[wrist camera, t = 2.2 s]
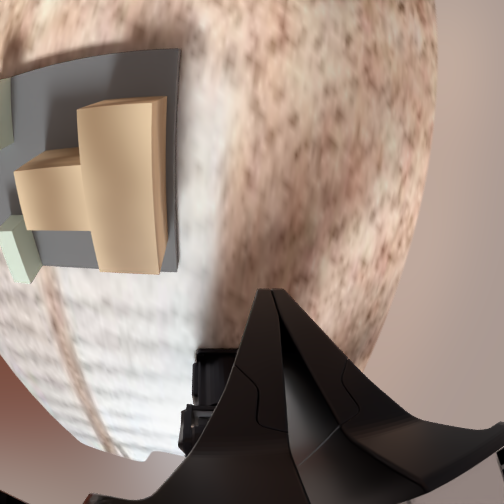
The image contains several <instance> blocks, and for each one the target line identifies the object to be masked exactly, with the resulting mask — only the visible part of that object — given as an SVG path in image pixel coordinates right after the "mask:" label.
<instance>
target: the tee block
mask: <svg viewBox="0 0 504 504" xmlns="http://www.w3.org/2000/svg"><path fill="white" fill-rule="evenodd" d="M166 113H167V96H152V97H133V98H120V99H109V100H103V101H100V102H97V103H94V104H91V105H88V106H85V107H82V108H79V109H77V127H78V142H79V147H74V148H64V149H55V150H47V151H44V152H42V153H41V154H39V155H38V156H36V157H34V158H33V159H31V160H30V161H28V162H27V163H25V164H24V165H22V166H21V167H20V168H18V169H17V170H15V171H14V177H15V182H16V187H17V192H18V197H19V201H20V205H21V210H22V214H23V217H24V221H25V225H26V228H27V230H55V231H91V235H92V240H93V244H94V249H95V253H96V258H97V262H98V266H99V270H100V272H113V273H133V274H156V275H159V274H160V270H161V266H162V262H163V258H164V254H165V250H166V246H167V242H168V226H167V202H166Z"/></svg>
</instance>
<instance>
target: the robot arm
mask: <svg viewBox="0 0 504 504" xmlns="http://www.w3.org/2000/svg"><path fill="white" fill-rule="evenodd" d="M347 359H348V357H347V356H346V355H345V354H344V353H343V352H342V351H341V350H340V349H339V348H338V347H337V346H336V344H335V343H334V342H333V341H332V340H331V339H330V338H329V337H328V336H327V335H326V334H325V333H324V332H323V331H322V329H321V328H320V327H319V326H318V325H317V324H316V323H315V322H314V321H313V320H312V319H311V318H310V317H309V316H308V314H307V313H306V312H305V311H304V310H303V309H302V308H301V307H300V306H299V305H298V304H297V303H296V302H295V300H294V299H293V298H292V297H291V296H290V295H289V294H288V293H287V292H286V291H285V290H284V289H271V290H270V289H268V288H259V289H257V292H256V295H255V298H254V301H253V305H252V308H251V311H250V314H249V317H248V321H247V324H246V327H245V330H244V333H243V336H242V339H241V343H240V346H239V349H238V350H215V349H199V350H197V363H194V364H193V376H192V398H193V404H194V405H192V404H187V407H186V410H183V411H181V428H180V434H179V441H178V447H179V448H180V449H181V450H182V451H183V452H184V456H185V457H186V458H185V460H184V461H183V462H182V463H181V464H180V465H179V466H178V468H177V469H176V470H175V471H174V472H173V473H172V474H171V475H170V477H169V478H168V479H167V480H166V481H165V482H164V483H163V484H162V485H161V487H160V488H159V489H158V490H157V491H156V492H155V493H153V494H152V495H151V496H149V497H147V498H144V499H140V500H128V499H123V498H117V497H112V496H107V495H102V494H95V493H91V494H89V495H88V496H87V498H86V499H85V501H84V503H83V504H504V447H503V446H504V422H499V423H497V424H495V425H494V426H492V427H491V428H489V429H484V430H473V429H465V428H460V427H454V426H449V425H443V424H438V423H433V422H429V421H424V420H421V419H418V418H416V417H414V416H412V415H411V414H409V413H408V412H407V411H405V410H404V409H403V408H402V407H400V406H399V405H398V404H397V403H395V401H393V400H392V399H391V398H390V397H389V396H387V395H386V394H385V393H384V392H383V391H382V390H380V389H379V388H378V387H377V386H376V385H375V384H374V383H373V382H371V381H370V380H369V379H368V378H367V377H366V376H365V375H364V374H363V373H362V372H361V371H360V370H359V369H358V368H357V367H356V366H355V365H354V364H353V363H352V361H351V360H350V359H348V360H347ZM502 447H503V448H502ZM500 448H501V449H500ZM499 449H500V450H499ZM496 451H497V452H496ZM0 504H29V503H27V502H25V501H22V500H20V499H18V498H16V497H14V496H12V495H10V494H8V493H6V492H4V491H2V490H0Z"/></svg>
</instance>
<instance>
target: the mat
mask: <svg viewBox="0 0 504 504" xmlns="http://www.w3.org/2000/svg"><path fill="white" fill-rule="evenodd" d="M180 54H181V49H156V50H142V51H131V52H121V53H113V54H106V55H100V56H93V57H88V58H82V59H77V60H72V61H68V62H63V63H59V64H55V65H51V66H47V67H43V68H39V69H36V70H32V71H29V72H26V73H23V74H19V75H16V76H13V77H11V114H12V127H13V137H14V143H12V144H10V145H8V146H7V147H5V148H3V149H1V150H0V226H1V225H2V224H3V223H4V222H5V221H6V220H7V219H8V218H9V217H10V216H11V215H23V214H22V210H21V205H20V201H19V197H18V192H17V187H16V182H15V177H14V171H15V170H17V169H18V168H20V167H21V166H22V165H24V164H25V163H27V162H28V161H30V160H31V159H33V158H34V157H36V156H38V155H39V154H41V153H42V152H44V151H47V150H55V149H64V148H74V147H79V142H78V127H77V109H79V108H82V107H85V106H88V105H91V104H94V103H97V102H100V101H103V100H109V99H120V98H133V97H152V96H167V113H166V202H167V226H168V242H167V246H166V250H165V254H164V258H163V262H162V266H161V270H160V272H177V268H178V258H177V237H176V202H175V148H176V115H177V94H178V79H179V65H180ZM32 233H33V237H34V240H35V243H36V247H37V250H38V253H39V256H40V259H41V262H42V265H44V266H60V267H76V268H94V269H99V266H98V262H97V258H96V253H95V249H94V244H93V240H92V235H91V231H55V230H32Z"/></svg>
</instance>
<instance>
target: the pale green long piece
mask: <svg viewBox="0 0 504 504" xmlns="http://www.w3.org/2000/svg"><path fill="white" fill-rule="evenodd" d="M12 143H14V137H13V127H12V114H11V78H6V79H1V80H0V150H1V149H3V148H5V147H7V146H8V145H10V144H12ZM0 246H1V249H2V252H3V255H4V257H5V260H6V263H7V265H8V268H9V270H10V273H11V275H12V277H13V280H14V282H17V283H26V284H31V283H32V281H33V280H34V278H35V277H36V275H37V273H38V272H39V270H40V269H41V267H42V266H43V265H42V262H41V259H40V256H39V253H38V250H37V247H36V243H35V240H34V237H33V233H32V230H27V228H26V225H25V221H24V217H23V215H11V216H10V217H9V218H8V219H7V220H6V221H5V222H4V223H3V224H2V225H1V226H0Z"/></svg>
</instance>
